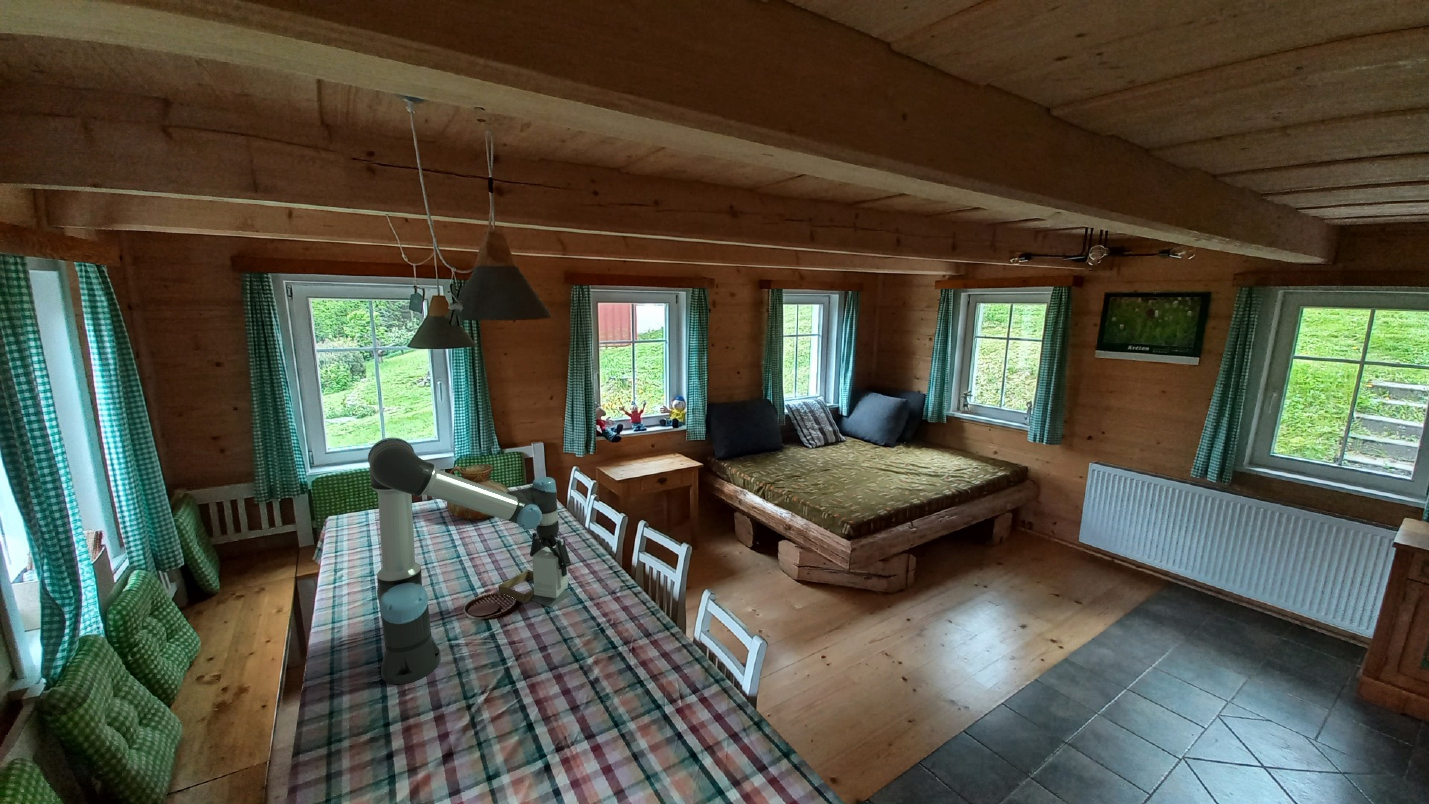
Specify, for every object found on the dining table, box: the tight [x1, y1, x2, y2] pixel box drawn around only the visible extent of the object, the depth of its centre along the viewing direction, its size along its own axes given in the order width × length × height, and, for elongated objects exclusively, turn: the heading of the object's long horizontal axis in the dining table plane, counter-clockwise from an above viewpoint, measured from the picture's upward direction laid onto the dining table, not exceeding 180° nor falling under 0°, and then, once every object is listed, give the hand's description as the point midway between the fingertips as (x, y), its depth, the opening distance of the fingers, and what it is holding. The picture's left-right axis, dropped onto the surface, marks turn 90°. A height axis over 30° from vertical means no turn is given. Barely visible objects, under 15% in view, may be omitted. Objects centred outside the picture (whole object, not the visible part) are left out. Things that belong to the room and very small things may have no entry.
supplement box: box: [531, 546, 569, 598], centre depth 191 cm, size 9×9×15 cm
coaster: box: [530, 589, 573, 608], centre depth 193 cm, size 10×10×1 cm
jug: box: [446, 463, 511, 522], centre depth 267 cm, size 30×30×25 cm
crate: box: [497, 569, 536, 604], centre depth 198 cm, size 14×14×3 cm
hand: (551, 579), depth 192 cm, fingers closed on supplement box, 11 cm apart
